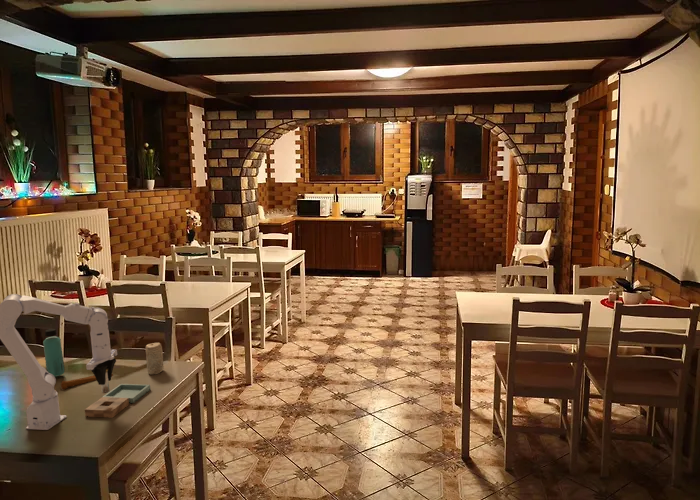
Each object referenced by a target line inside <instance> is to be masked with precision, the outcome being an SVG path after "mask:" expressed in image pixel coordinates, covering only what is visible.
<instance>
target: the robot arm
mask: <svg viewBox="0 0 700 500" xmlns="http://www.w3.org/2000/svg"><path fill="white" fill-rule="evenodd" d="M22 312H23V315H28V314H31V313H33V312H40V313H45V314H52V315H57V316H62V317H63V318H64V320H65V321H67V322H72V323H77V324H82V325H89V327H90V332H89V333H90V334H89V335H90V343H91V352H92V358H91V359H90V360H89V362H88V363H86V365H85V367H86V370H87V371H88V370H89V371H91V372H92V374H93V375H95V377H96V379H97V380H96V382H97V384H98V385H100V386H101V385H104V384H105V382H106V369H107V368H108V380H109V381H110V382H111V381H112V377H113V376H112V374H113V371H114V367H115V364H116V362H117V359H116V358H115V356H117V355H118V349H112V348H111V338H110V331H109V324H108V323H109V318H108V313H107V312H106V310H105V309H103V308H101V307H95V306H91V307H88V306H84V305H81V304H80V303H79V302H75V303H73V302H71V303H69V304H66V305H65V304H64V305H63V304H59V303H56V302H52V301H49V300H44V299H40V298H37V297H33V296H30V295H23V294H22V295H21V294H19V293H18V294H17V293H11V294H8V295H7V296H6V297H5V298H4V299H3V300H2V301H1V303H0V341H1V343H2V344H3V345H4V346H5V348H6V349H7V351H8V352H9V353H10V355H11V357H12V358H13V359H14V361H15V362H16V364H17V365H18V366H19V368H20V369H21V371H22V372H23V373H24V375H25V377H26V379H27V383H28V385H29V387H30V389H31V396H32V400H31V401H32V402H31V403H30V404H29V405H28V406H27V408H26V420H27V421H26V422H27V426H26V427H25V429H26V430H38V431H39V430H41V431H42V430H43V431H48V430H50V429H51V428H53V427H54V426H56V425H57V424H59V423H60V422H61V421H63V420H65V419H66V418H67V415H65V414H64V415H63V414H62V415H61V411H60V403H59V395H58V394H59V393H58V391H57V390H55V386H56V383H57V379H56V376H53V375H52V374H50V373H48V372H47V370H46V367H44V366H42V365H41V364H40V363H39V361H38V359H37V357H36V356H35V355H34V353H33V351H31V349H30V348H29V346H28V344H27V343H26V342H25V340H24V339H23V337H22V336H21V334H20V332H19V331H18V330H17V329H16V327H15V326H16V322H17V320H18V318H19V317H20V316H21V314H22Z"/></svg>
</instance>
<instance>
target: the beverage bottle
mask: <svg viewBox="0 0 700 500" xmlns="http://www.w3.org/2000/svg"><path fill="white" fill-rule="evenodd" d="M56 335H58V333H57V329H55V328H49V329H46V330H44V336H45V337H46V338H45V339H44V340H43V342H42V344H43V351H44V361H45V369H46V371H47V372H48V373H50V374H52V375H53V376H54V377H58V376H61V375H63V374H65V372H66V371H65V370H66V369H65V368H66V367H65V361H64V356H63V349H62V348H63V347H62V341H61V338H60V337H59V336H56Z"/></svg>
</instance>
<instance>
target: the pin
mask: <svg viewBox="0 0 700 500" xmlns="http://www.w3.org/2000/svg"><path fill="white" fill-rule="evenodd" d="M109 383H110V382H109V380H108V368H107V369H106V382H105V384H104V385H100V387H101V393H102V394H107V393H108V392H110V391H111V389H110V384H109Z"/></svg>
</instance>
